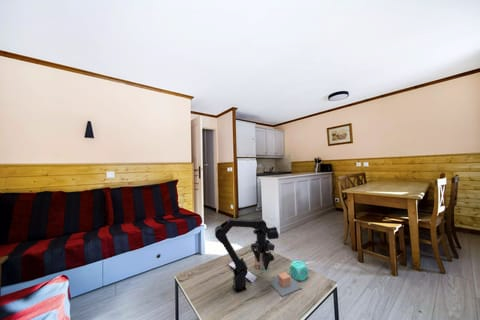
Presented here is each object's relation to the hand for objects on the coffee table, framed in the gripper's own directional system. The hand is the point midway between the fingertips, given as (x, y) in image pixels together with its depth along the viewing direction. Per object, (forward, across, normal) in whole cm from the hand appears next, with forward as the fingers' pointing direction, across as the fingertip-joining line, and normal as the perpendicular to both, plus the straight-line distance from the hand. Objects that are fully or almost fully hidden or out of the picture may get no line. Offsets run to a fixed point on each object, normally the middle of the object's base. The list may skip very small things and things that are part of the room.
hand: (262, 265), depth 106 cm
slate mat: (+11, -7, -11) cm, 17 cm away
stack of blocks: (+11, +21, -13) cm, 27 cm away
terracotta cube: (+10, -7, -11) cm, 16 cm away
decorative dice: (+11, -4, -24) cm, 27 cm away
